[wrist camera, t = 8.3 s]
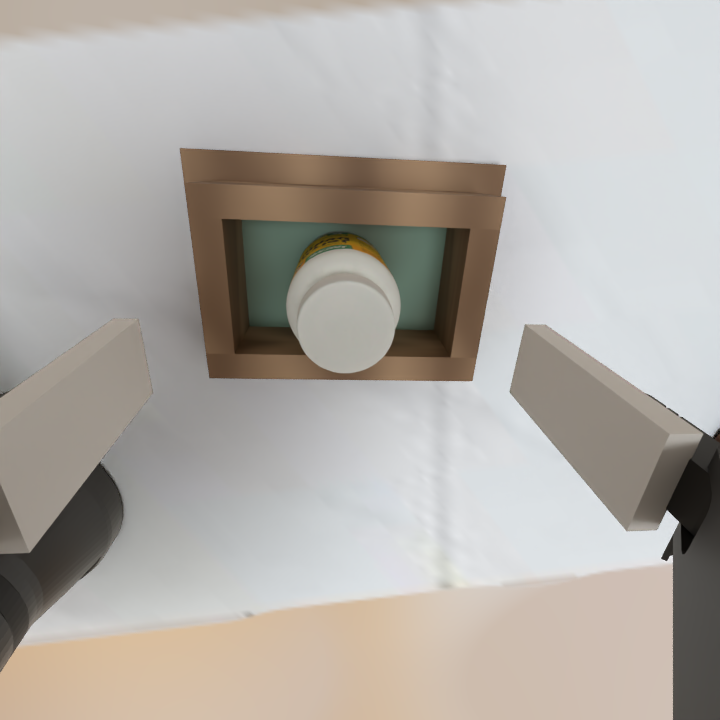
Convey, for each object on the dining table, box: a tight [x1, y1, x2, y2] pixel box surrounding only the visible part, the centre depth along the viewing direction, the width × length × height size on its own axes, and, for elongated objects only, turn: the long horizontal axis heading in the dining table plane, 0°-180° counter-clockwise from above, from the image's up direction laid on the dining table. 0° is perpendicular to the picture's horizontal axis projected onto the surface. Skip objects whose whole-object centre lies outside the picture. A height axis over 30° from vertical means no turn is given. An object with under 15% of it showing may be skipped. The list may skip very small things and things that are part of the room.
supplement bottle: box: [286, 231, 401, 373], centre depth 20 cm, size 5×5×10 cm
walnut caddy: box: [180, 148, 506, 381], centre depth 23 cm, size 18×13×6 cm
